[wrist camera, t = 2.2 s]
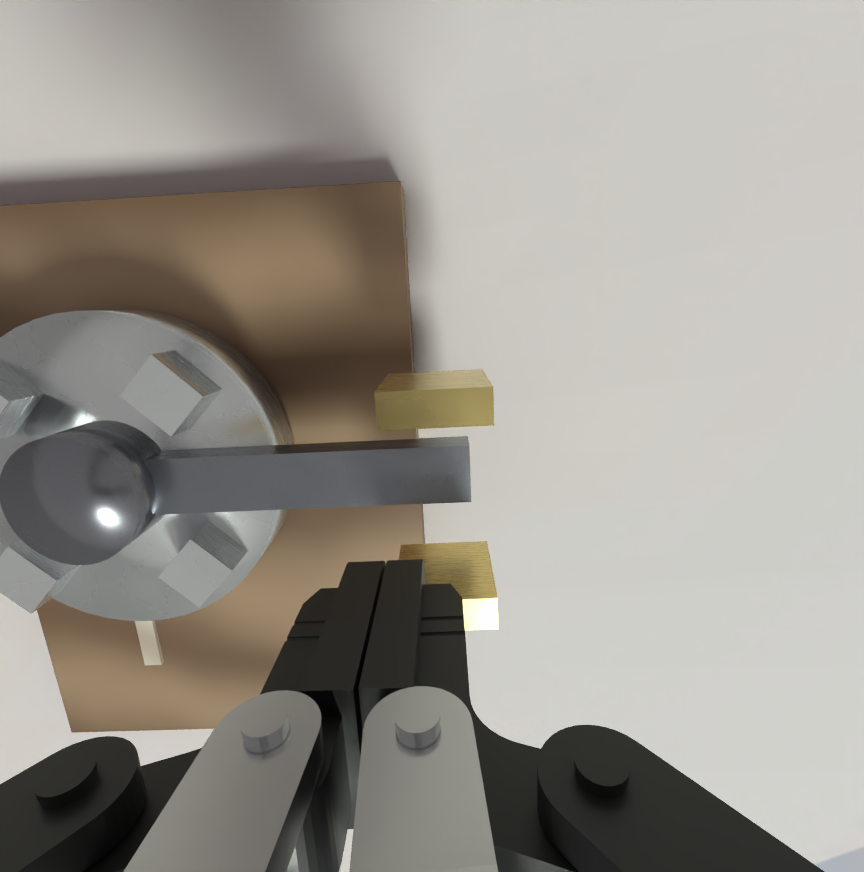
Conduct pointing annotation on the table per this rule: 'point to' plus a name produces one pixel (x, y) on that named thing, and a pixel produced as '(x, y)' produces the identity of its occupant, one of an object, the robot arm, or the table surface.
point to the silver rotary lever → (197, 466)
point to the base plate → (279, 365)
